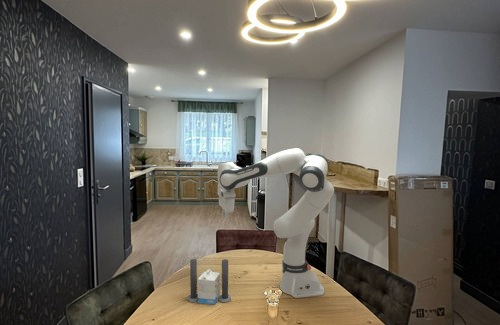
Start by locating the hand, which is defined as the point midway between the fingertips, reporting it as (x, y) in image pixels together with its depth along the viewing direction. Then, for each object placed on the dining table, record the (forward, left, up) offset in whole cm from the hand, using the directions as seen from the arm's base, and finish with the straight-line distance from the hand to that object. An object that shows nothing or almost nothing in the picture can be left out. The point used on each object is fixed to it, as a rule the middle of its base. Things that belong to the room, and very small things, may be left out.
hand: (225, 216), depth 147 cm
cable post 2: (-1, +19, -35) cm, 40 cm away
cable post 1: (+14, +19, -35) cm, 42 cm away
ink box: (+6, +19, -35) cm, 41 cm away
